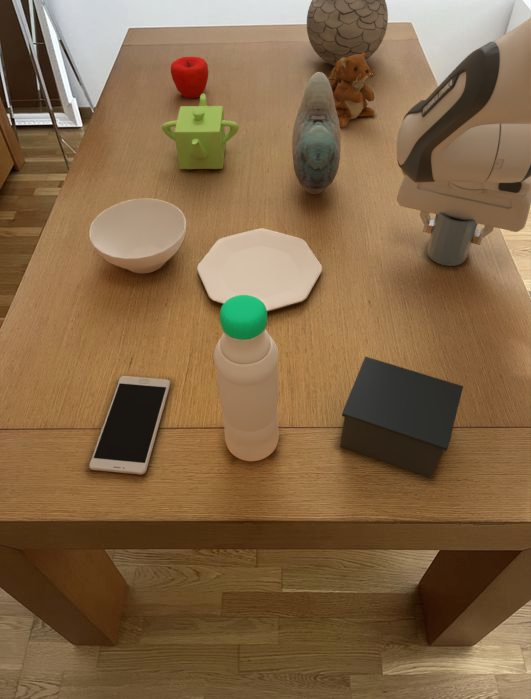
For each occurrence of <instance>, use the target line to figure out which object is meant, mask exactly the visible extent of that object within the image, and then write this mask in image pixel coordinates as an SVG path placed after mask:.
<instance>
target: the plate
mask: <svg viewBox="0 0 531 699" xmlns="http://www.w3.org/2000/svg"><path fill="white" fill-rule="evenodd" d="M196 271H197V274H198V275H199V278H200V280H201V283H202V284H203V287H204V289H205V291H206V294H207V296H208V298H209V300H211V301H212V302H214V303H217V304H220V305H223V304H224V303H225V302H226V301H227V300H229V299H230V298H232V297H235V296H236V295H237V296H239V295H249V296H250V295H251V296H254V297H255V298H258V299H259V300H261V302H263V303H264V305H265V307H266V309H267V313H269V312H273V311H276V310H280V309H283V308H286V307H290V306H294V305H297V304H301V303H303V302H304V301H305V300H307V298H308V297H309V295H310V294H311V292H312V290H313V288H314V286H315V284H316V282H317V281H318V279H319V278H320V275H321V274H322V273H323V266H322V264H321V263H320V261H319V259H318V258H317V257H316V255H315V253H314V252H313V250H312V249H311V248H310V246H309V245H308V243H307V242H306V240H304V239H303V238H301V237H297V236H293V235H290V234H286V233H282V232H279V231H275V230H271V229H268V228H263V227H262V228H260V227H259V228H255V229H251V230H247V231H244V232H243V231H242V232H239V233H235V234H231V235H227V236H223V237H221V238H219V239H217V240H216V241H215V242H214V244H212V246H211V248H210V249H209V251H207V253H206V254H205V255H204V257H203V258H202V259H201V261H199V263H198V264H197V266H196Z"/></svg>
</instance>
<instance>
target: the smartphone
mask: <svg viewBox="0 0 531 699" xmlns="http://www.w3.org/2000/svg"><path fill="white" fill-rule="evenodd" d="M115 387H116V388H115V390H114V393H113V396H112V399H111V402H110V405H109V407H108V410H107V412H106V416H105V419H104V421H103V425H102V427H101V429H100V433H99V435H98V438H97V440H96V444H95V446H94V450H93V453H92V455H91V459H90V462H89V464H88V468H89V469H90V471H91V470H92V471H101V472H110V473H120V474H131V475H139V476H140V475H145V474H146V473H147V469H148V466H149V463H150V459H151V455H152V452H153V448H154V444H155V442H156V439H157V438H156V437H157V434H158V430H159V426H160V423H161V419H162V416H163V412H164V409H165V406H166V402H167V398H168V396H169V395H168V394H169V391H170V387H171V380H170V379H167V378H156V377H155V378H154V377H143V376H133V375H132V376H131V375H122V376H119V379H118V381H117V385H116V386H115Z"/></svg>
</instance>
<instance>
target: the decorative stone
mask: <svg viewBox="0 0 531 699" xmlns="http://www.w3.org/2000/svg"><path fill="white" fill-rule="evenodd" d="M291 140H292V141H291V148H292V149H291V152H292V153H291V154H292V164H293V169H294V173H295V176H296V178H297V180H298V183H299V184H300V185H301V187H302V188H303V189H304V190H305V191H306V192H307V193H309V194H310V195H318V194H321V193H322V192H324V191H325V190H326V189H327V188H328V187H329V186H330V185H331V184H332V183H333V181H334V180H335V178H336V176H337V174H338V170H339V167H340V162H341V149H342V148H341V145H342V134H341V127H340V124H339V119H338V115H337V111H336V108H335V102H334V98H333V92H332V88H331V85H330V82H329V78H328V77H327V75H326V74H325V73H323V71H316V72H315V73H314V74H313V75H312V76H311V77H310V78H309V80H308V82H307V84H306V86H305V90H304V93H303V97H302V100H301V102H300V107H299V109H298V111H297V114H296V117H295V120H294V124H293V128H292V139H291Z"/></svg>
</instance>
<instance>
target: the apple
mask: <svg viewBox="0 0 531 699" xmlns="http://www.w3.org/2000/svg"><path fill="white" fill-rule="evenodd" d="M170 75H171V78H172V81H173V83H174V86H175V88H176V90H177V92H179V94H180V95H181V96H182V97H183V98H187V99H195V98H200V96H201V94H203V93H204V92H205V90H206V89H207V84H208V79H209V65H208V62H207V61H206V60H205V58H202V57H200V56H182V57H180V58H177V59H176V60H174V61H172V62H171V65H170Z"/></svg>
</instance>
